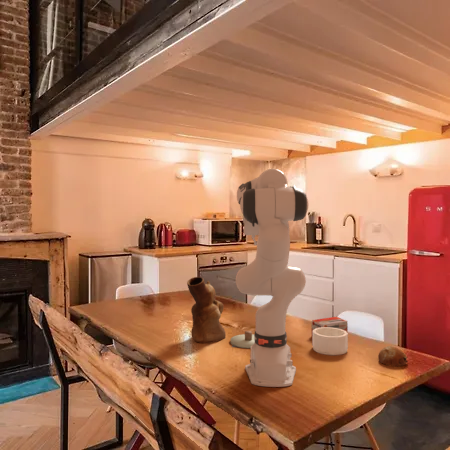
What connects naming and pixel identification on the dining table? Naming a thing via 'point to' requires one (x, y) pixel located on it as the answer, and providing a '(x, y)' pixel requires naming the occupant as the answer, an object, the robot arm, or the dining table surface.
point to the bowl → (330, 341)
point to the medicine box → (330, 323)
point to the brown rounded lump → (392, 356)
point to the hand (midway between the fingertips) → (266, 245)
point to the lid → (243, 340)
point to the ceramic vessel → (205, 312)
